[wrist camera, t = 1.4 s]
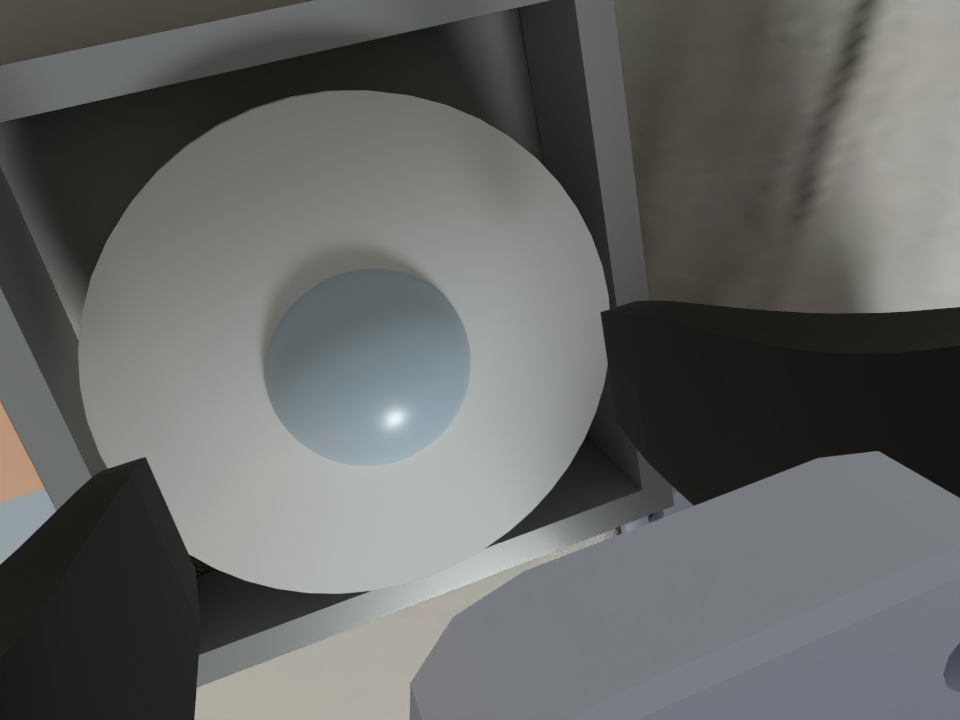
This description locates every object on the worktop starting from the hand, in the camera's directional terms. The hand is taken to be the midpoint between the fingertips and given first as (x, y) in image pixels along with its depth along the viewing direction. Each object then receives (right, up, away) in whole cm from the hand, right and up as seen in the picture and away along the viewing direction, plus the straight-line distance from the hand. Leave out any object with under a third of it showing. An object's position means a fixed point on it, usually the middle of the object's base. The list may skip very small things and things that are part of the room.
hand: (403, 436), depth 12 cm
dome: (-2, +2, +5) cm, 6 cm away
